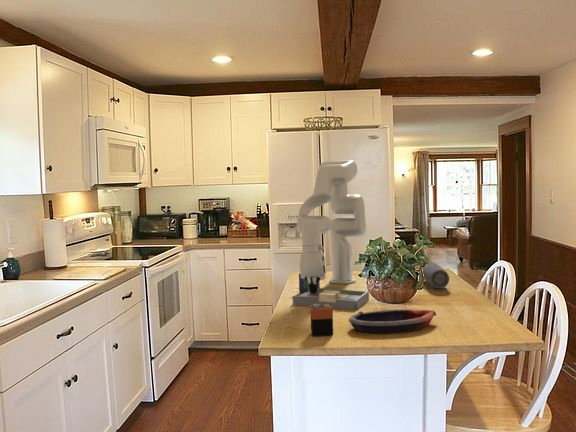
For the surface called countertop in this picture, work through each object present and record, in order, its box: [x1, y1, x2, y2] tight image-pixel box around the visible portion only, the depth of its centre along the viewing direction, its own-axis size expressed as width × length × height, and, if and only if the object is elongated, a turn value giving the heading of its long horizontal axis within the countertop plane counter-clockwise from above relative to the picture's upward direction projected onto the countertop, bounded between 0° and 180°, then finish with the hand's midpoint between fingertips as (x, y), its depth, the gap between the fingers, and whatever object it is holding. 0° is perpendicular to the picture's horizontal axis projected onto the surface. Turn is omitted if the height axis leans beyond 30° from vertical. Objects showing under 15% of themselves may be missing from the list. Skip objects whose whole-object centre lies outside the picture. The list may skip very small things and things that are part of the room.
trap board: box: [292, 287, 370, 311], centre depth 207 cm, size 16×27×4 cm, turn 64°
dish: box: [348, 308, 437, 334], centre depth 171 cm, size 16×31×5 cm, turn 98°
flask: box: [298, 272, 321, 295], centre depth 225 cm, size 9×3×11 cm, turn 88°
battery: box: [309, 304, 334, 337], centre depth 165 cm, size 4×7×10 cm, turn 95°
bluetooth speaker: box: [423, 261, 450, 289], centre depth 231 cm, size 23×9×10 cm, turn 178°
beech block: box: [319, 290, 340, 302], centre depth 203 cm, size 6×6×3 cm
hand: (313, 292), depth 207 cm, fingers closed
